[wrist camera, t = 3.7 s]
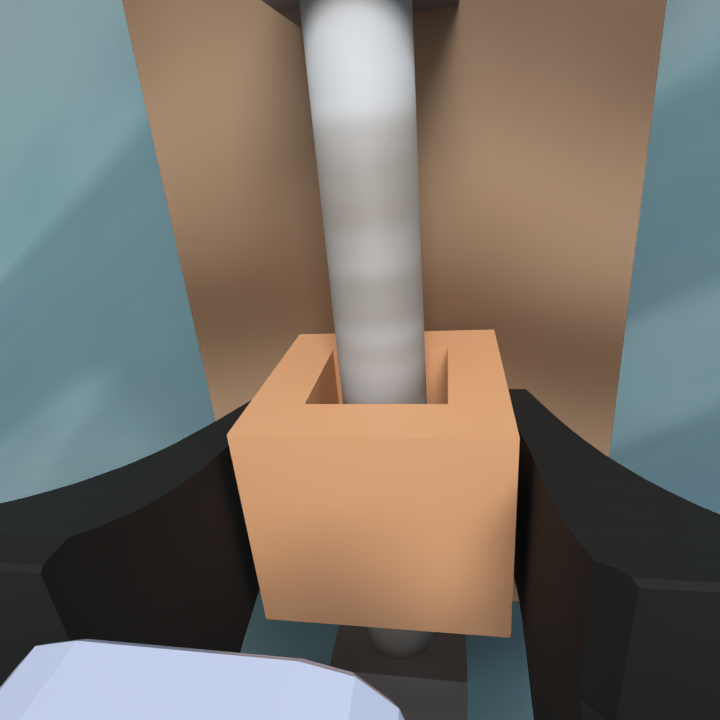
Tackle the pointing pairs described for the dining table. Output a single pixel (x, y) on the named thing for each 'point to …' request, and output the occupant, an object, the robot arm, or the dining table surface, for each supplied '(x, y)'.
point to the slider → (383, 492)
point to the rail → (477, 184)
